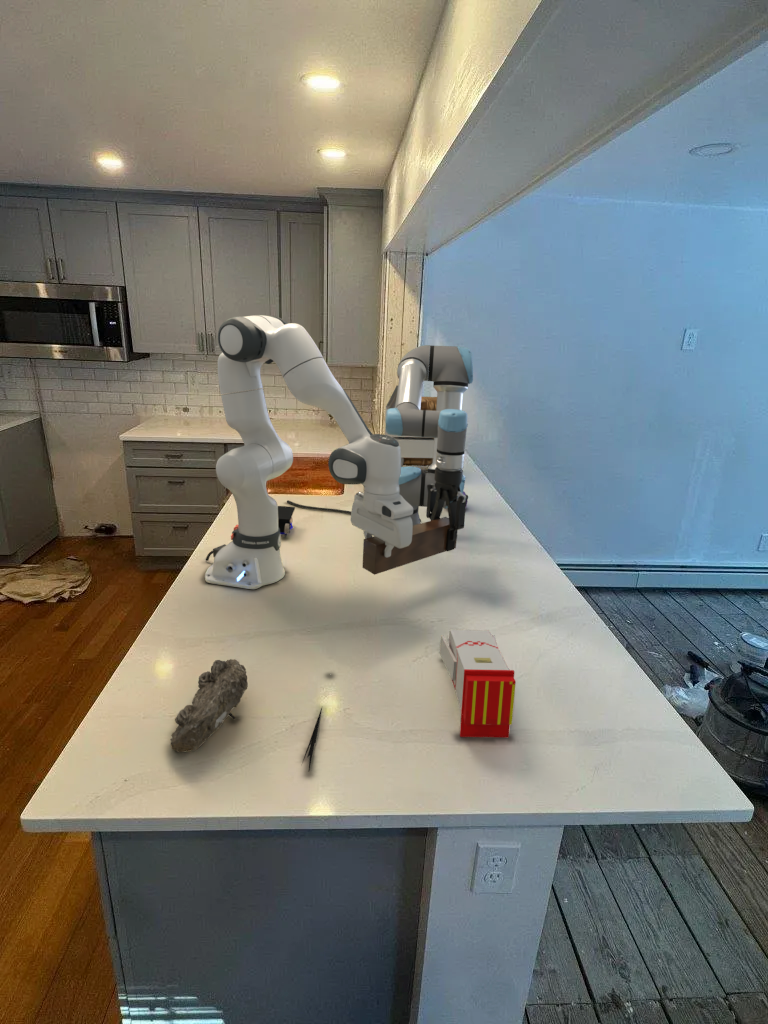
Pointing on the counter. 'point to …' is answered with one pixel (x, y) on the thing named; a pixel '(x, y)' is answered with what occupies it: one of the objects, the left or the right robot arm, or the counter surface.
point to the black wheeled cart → (285, 519)
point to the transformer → (414, 437)
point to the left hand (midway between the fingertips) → (378, 551)
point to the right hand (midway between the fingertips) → (442, 546)
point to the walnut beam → (423, 545)
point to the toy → (479, 682)
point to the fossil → (210, 704)
